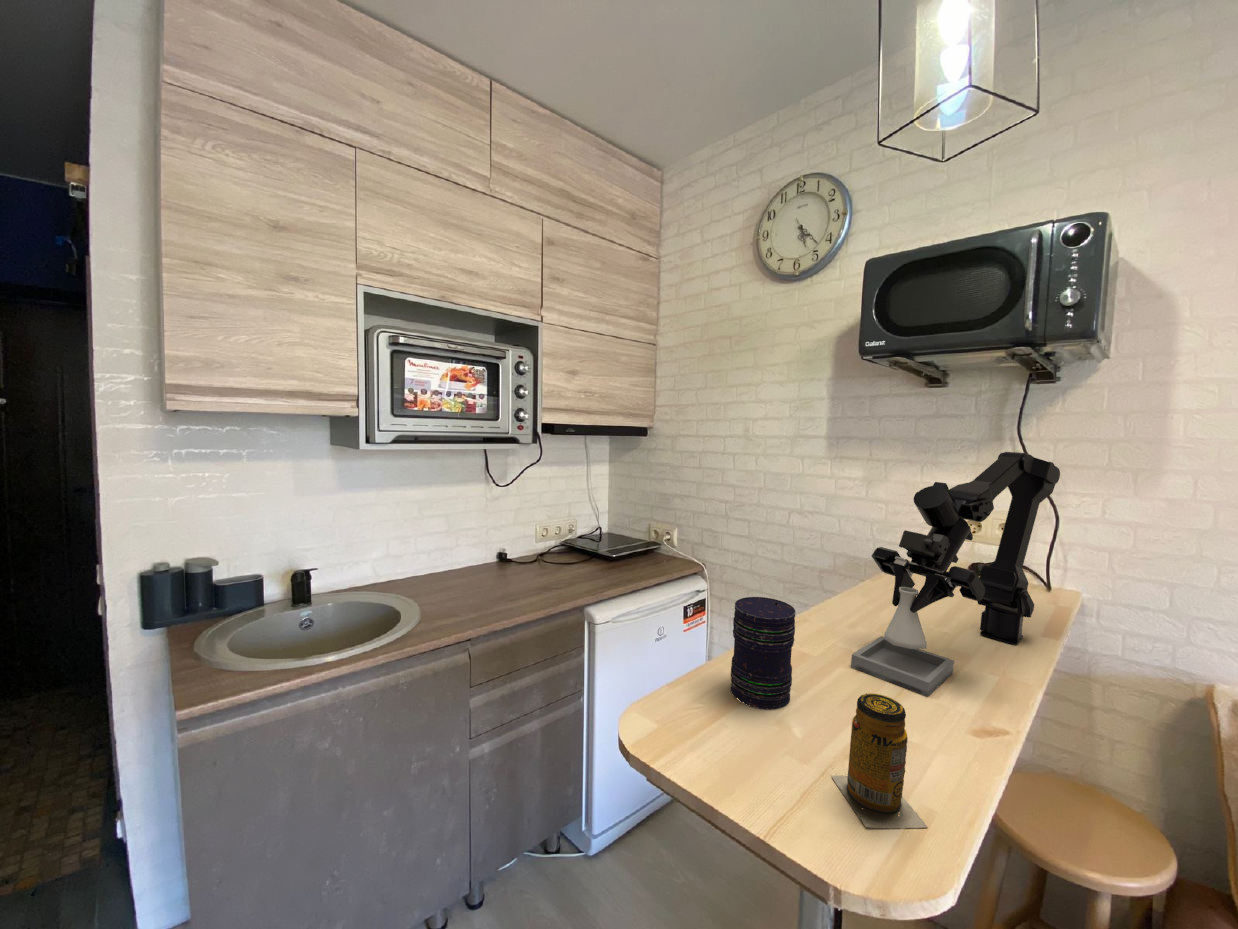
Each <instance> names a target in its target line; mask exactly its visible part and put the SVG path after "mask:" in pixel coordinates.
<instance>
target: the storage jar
mask: <svg viewBox="0 0 1238 929" xmlns="http://www.w3.org/2000/svg"><path fill="white" fill-rule="evenodd" d="M733 616H734V617H733V621H732V622H733V623H732V624H733V625H732V626H733V629H732V636H733V639H734V640H733V641H734V643H733V644H734V645H733V655H732V658H731V666H730V682H731V684H730V692H731V691H732V693H731V695H732V694H733V695H734V696H735V697H736V698H738V699H739V700H740V701H741V702H744V703H745V704H747V705H750V706H751V708H753V707H754V709H757V708H759V709H758V710H764V711H765V710H766V711H771V710H779V709H783V708H785V707H787V706H788V705H789V703H790V701H791V694H790V693H791V690H792V689H791V687H792V684H793V676H792V675H793V666H792V663H791V662H792V650H793V646H794V642H795V633H796V625H795V624H796V620H795V619H796V609H795V608H794V606H793V605H791V604H789V603H787V602H785V601H783V600H779V599H776V598H769V597H763V596H748V597H742V598H739V599H737V600H736V601H735V603H734V612H733ZM733 695H732V696H733ZM734 696H733V697H734ZM735 697H734V698H735ZM736 698H735V699H736ZM740 701H739V702H740ZM741 702H740V703H741ZM745 704H744V705H745ZM747 705H746V706H747ZM750 706H749V707H750Z"/></svg>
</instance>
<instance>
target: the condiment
mask: <svg viewBox="0 0 1238 929" xmlns="http://www.w3.org/2000/svg"><path fill="white" fill-rule="evenodd" d="M906 716H907V714H906V710H905V708H904V706H903V705H902V704H901V703H899V702H898V701H897V700H895V699H894V698H892V697H888V696H887V695H882V694H878V693H864V694H862V695H860V696H859V697H858V698H857V701H856V709H855V715H854V716H853V718H852V721H851V730H850V731H851V732H850V743H849V754H848V755H849V756H848V768H847V775H838V774H836V775H831V778H832V779H833V781H834V782H835V784H836V786H837V788H839V790H840V792H841V793H842V795H843V796H844V798H845V799H846V800H847V803H849V804H850V805H851V807H852V809H853V810H854V813H855V814H856V815H857V817H858V818H859V819H860V820H861V822H862V823H863V825H864V827H865V828H873V829H901V830H903V829H919V828H922V829H923V828H928V825H927V824H926V823H925V821H924V820H923V818H921V817H920V815H919V813H918V812H916V810H915V809H914V808H913V807H912V806H911V804H910V803H909V802H908V801H907V800H906V799H905V798H904V797H903V790H904V783H905V773H906V764H907V761H906V760H907V758H906V757H907V752H908V739H909V738H908V733H907V730H906V729H905V727H906Z"/></svg>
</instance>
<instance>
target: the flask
mask: <svg viewBox="0 0 1238 929" xmlns="http://www.w3.org/2000/svg"><path fill="white" fill-rule="evenodd" d="M899 592H900V594H901V595H900V601H899V605H897V608H896V609H895V611H894V614H893V616H892V618H891V620H890V622H889V624H888V626H887V627H886V630H885V631H884V635H883V637H884V639H885V640H887V641H888V642H890V643H891V644H893V645H895V646H900V647H904V648H909V649H921V650H924V649H925V650H926V649H927V648H928V646H927V640H926V637H925V633H924V631H923V627H922V624H921V621H920V617H919V614H918V611H917V612H915V613H912V612H911V611H910V607H911V605H912V603H913V601H914V600H915V598H916V597H917V595H918V593H919V590H918V589H916V588H915V587H913V588H910V587H899Z"/></svg>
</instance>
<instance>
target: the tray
mask: <svg viewBox="0 0 1238 929" xmlns="http://www.w3.org/2000/svg"><path fill="white" fill-rule="evenodd" d="M954 662H955V659H951V658H949V657H946V656H942V655H939V654H937V653H933V652H931V651H928V650H924V649H909V648H904V647H900V646H895V645H893V644H891V643H890V642H888V641H887V640H885V639H884V636H879V637H877V638H875V639H874V640H872V641H871V642H870V643H868V644H866V645H864V646H863V647H861V648H860V649H858V650H856V651H855V652H853V653H852V654H851V660H850V668H852V669H854V670H857V671H859V672H862V673H865V674H867V675H870V676H872V677H875V678H877V679H881V680H882V681H885V682H888V683H890V684H893V685H896V686H898V687H901V688H903V689H906V690H909V691H911V692H914V693H917V694H919V695H921V696H925V697H926V698H928V697H929V696H930V695H931V694H933V693H934V692H935V691H936V690H937V689H938V688H939V687H940V686H941V685H942V684H943V683H944V682H945V681H946V680H947V679H948V678H950V677H951V675H952V674H953V673H954V664H955V663H954Z"/></svg>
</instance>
